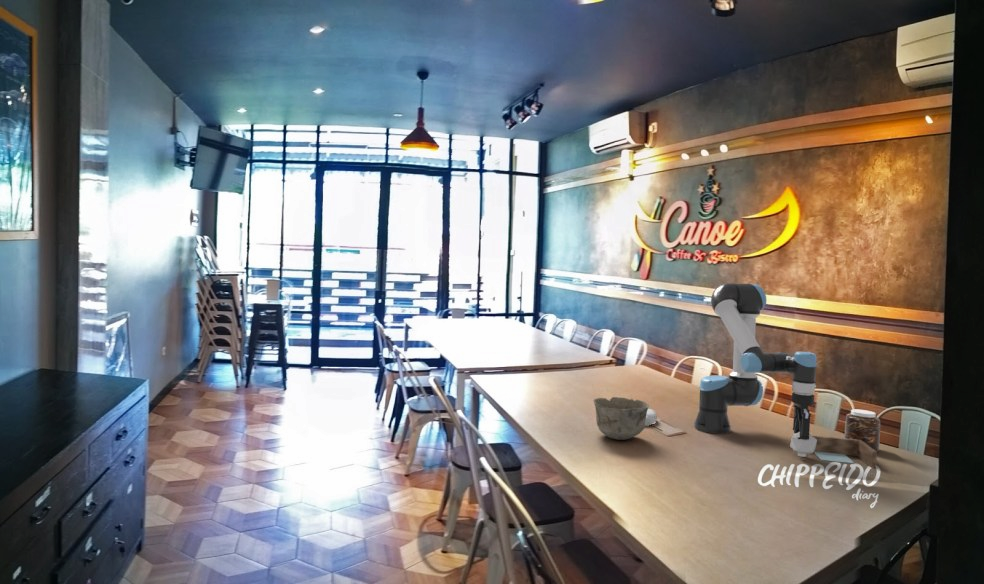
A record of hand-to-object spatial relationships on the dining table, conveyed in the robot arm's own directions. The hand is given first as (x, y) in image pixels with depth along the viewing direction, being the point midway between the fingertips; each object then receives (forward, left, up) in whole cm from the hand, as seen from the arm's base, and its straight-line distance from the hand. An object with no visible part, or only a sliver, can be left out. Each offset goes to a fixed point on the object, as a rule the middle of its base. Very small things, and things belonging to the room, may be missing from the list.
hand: (799, 453), depth 223 cm
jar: (+28, +23, -2) cm, 36 cm away
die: (+1, -1, -1) cm, 2 cm away
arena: (+14, +4, -1) cm, 15 cm away
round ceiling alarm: (-61, +32, -2) cm, 70 cm away
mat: (+13, +4, -1) cm, 13 cm away
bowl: (-67, +2, -2) cm, 67 cm away
